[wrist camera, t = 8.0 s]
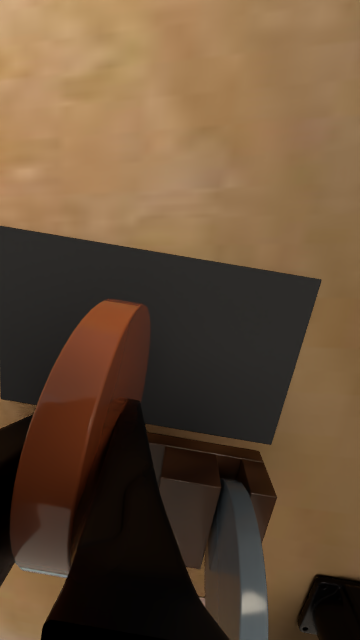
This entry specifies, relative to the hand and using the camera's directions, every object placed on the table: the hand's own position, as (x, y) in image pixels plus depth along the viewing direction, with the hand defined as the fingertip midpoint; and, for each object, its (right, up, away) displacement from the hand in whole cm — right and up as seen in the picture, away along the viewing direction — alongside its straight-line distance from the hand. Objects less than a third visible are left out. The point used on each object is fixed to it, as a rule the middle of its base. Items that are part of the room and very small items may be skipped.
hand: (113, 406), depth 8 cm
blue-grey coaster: (+5, -11, +4) cm, 13 cm away
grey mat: (0, +2, +7) cm, 7 cm away
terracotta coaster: (0, 0, 0) cm, 0 cm away
